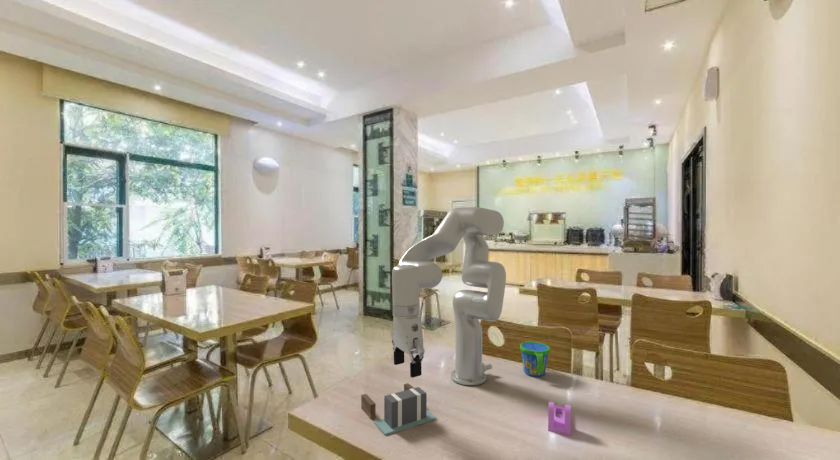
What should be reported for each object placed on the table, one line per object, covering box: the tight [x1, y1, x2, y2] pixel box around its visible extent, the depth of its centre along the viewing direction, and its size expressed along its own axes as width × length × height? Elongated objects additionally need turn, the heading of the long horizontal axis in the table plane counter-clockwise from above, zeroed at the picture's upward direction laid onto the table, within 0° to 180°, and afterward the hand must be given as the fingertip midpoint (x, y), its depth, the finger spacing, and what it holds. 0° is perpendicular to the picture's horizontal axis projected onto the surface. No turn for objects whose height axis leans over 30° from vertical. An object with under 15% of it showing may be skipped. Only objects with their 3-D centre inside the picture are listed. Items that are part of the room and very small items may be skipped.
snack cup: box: [519, 341, 551, 378], centre depth 136 cm, size 16×10×10 cm
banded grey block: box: [383, 386, 428, 429], centre depth 103 cm, size 11×4×7 cm, turn 121°
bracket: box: [547, 401, 572, 436], centre depth 104 cm, size 13×6×7 cm, turn 160°
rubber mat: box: [373, 408, 437, 436], centre depth 103 cm, size 16×7×1 cm, turn 121°
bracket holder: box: [360, 382, 415, 420], centre depth 111 cm, size 16×7×4 cm, turn 121°
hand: (407, 369), depth 103 cm, fingers open, 9 cm apart
